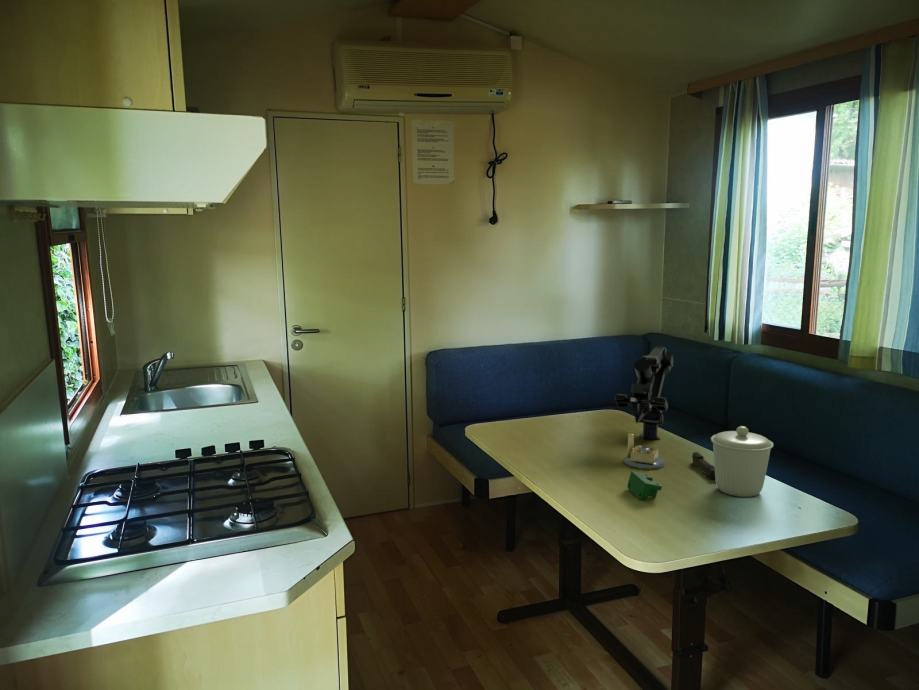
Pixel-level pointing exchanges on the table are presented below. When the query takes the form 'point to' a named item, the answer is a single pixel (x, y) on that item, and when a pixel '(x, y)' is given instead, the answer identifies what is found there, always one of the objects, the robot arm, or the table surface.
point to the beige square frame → (638, 456)
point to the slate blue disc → (640, 465)
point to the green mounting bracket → (643, 485)
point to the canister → (740, 461)
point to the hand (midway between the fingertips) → (636, 422)
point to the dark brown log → (704, 465)
